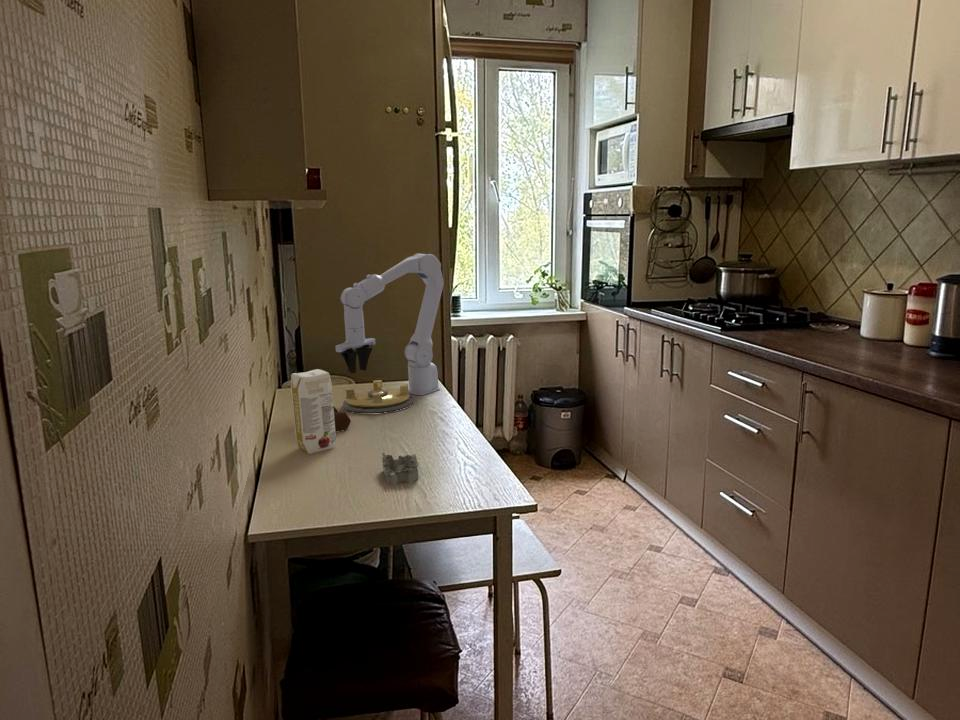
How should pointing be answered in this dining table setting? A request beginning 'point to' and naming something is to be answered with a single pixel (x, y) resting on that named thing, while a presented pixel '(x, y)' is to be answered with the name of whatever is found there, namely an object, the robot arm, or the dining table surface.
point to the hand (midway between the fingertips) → (357, 371)
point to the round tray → (377, 396)
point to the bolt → (341, 420)
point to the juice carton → (313, 411)
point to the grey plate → (377, 410)
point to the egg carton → (400, 468)
